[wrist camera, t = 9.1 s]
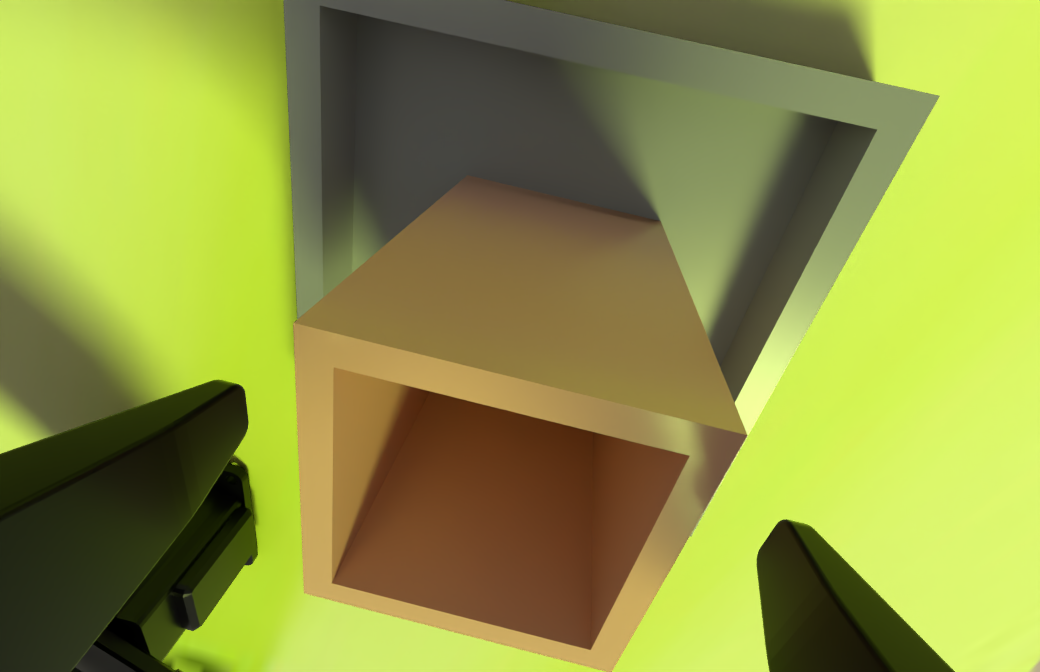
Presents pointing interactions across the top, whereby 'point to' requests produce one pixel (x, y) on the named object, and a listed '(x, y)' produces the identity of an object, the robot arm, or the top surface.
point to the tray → (593, 151)
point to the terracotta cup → (509, 423)
